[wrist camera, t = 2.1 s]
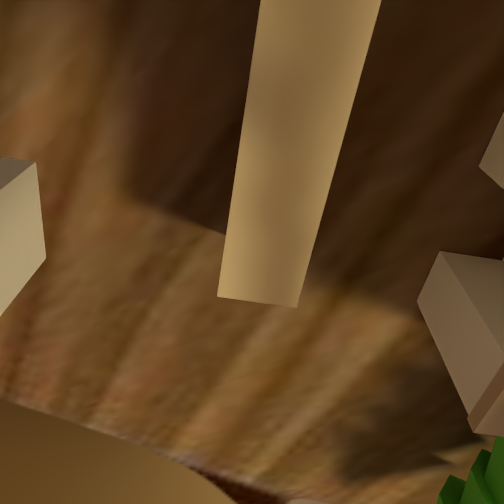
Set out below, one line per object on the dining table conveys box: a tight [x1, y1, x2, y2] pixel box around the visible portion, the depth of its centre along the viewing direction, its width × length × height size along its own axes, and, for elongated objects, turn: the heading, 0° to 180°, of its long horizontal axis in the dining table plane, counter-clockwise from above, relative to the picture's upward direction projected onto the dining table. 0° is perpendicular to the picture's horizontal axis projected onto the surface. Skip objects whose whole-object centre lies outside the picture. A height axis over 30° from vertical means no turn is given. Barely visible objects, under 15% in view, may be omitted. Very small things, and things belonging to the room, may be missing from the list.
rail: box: [217, 0, 381, 308], centre depth 20 cm, size 4×16×6 cm, turn 171°
